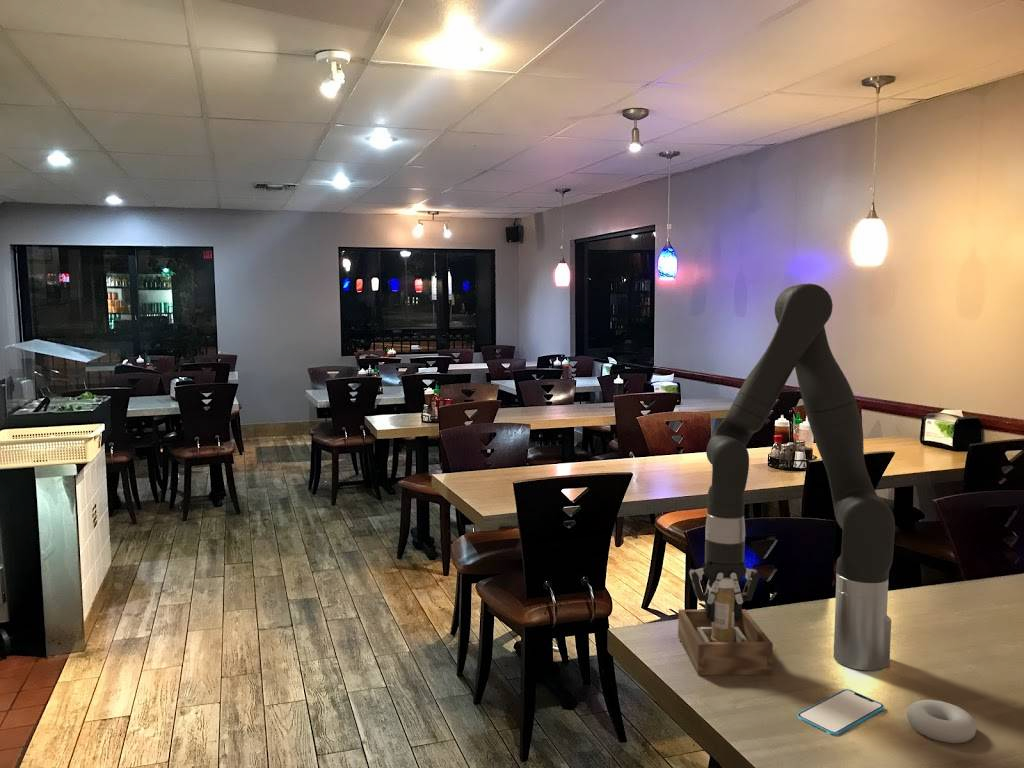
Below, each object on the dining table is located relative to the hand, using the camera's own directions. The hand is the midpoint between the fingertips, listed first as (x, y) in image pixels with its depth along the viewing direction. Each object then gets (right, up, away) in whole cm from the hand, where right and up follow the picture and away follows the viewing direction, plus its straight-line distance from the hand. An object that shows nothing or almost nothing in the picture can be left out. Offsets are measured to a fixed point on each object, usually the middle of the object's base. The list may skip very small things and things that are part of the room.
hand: (722, 619), depth 153 cm
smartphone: (+14, -10, -22) cm, 28 cm away
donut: (+28, -10, -27) cm, 40 cm away
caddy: (0, -7, +1) cm, 7 cm away
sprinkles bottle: (0, -4, 0) cm, 4 cm away
